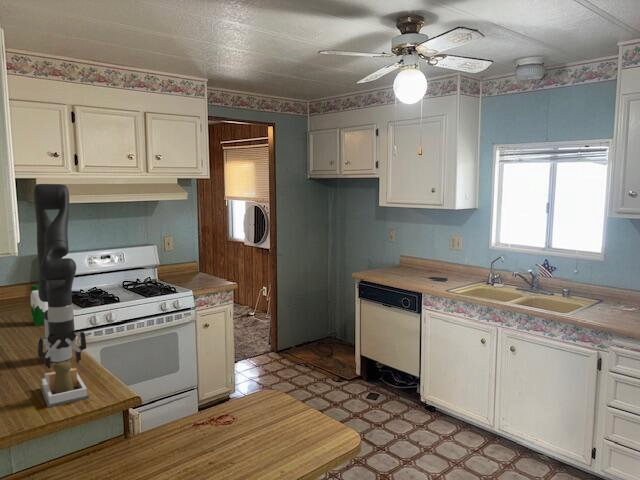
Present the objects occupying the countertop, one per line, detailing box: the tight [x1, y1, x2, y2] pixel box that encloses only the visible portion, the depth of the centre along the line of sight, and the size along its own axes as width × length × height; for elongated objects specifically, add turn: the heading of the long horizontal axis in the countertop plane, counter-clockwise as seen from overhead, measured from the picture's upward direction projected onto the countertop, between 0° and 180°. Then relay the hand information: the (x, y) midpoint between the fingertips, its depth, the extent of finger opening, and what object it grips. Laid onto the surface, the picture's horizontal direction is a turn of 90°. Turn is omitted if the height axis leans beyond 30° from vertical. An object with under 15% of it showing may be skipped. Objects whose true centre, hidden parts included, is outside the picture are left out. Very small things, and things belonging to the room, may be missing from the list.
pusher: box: [48, 368, 78, 392], centre depth 165 cm, size 4×8×6 cm, turn 127°
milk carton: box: [30, 284, 48, 327], centre depth 245 cm, size 9×9×20 cm
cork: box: [53, 360, 74, 394], centre depth 161 cm, size 6×6×11 cm
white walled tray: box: [40, 367, 90, 408], centre depth 164 cm, size 18×12×5 cm, turn 36°
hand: (63, 364), depth 162 cm, fingers open, 8 cm apart
